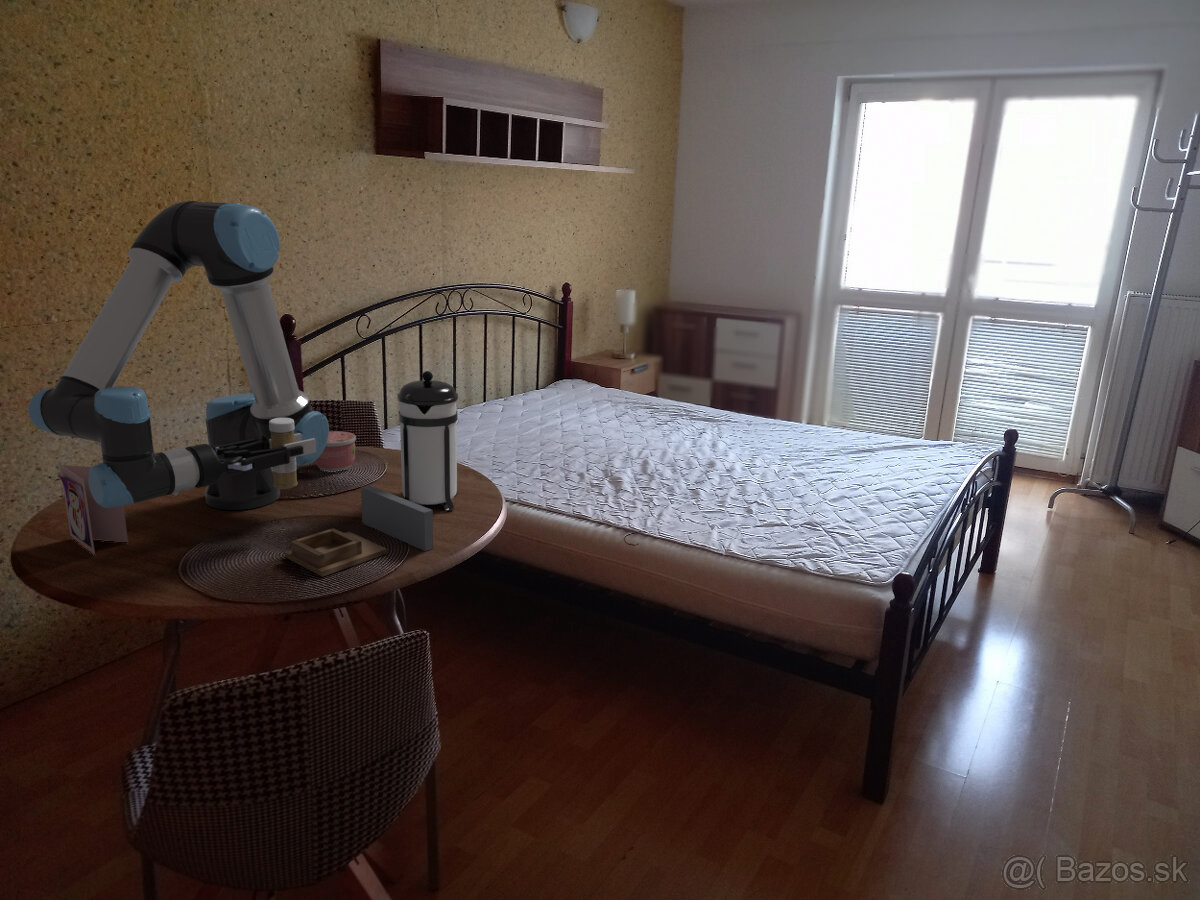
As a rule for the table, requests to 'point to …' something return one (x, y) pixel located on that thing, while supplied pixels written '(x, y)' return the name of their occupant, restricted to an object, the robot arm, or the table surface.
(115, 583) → the table surface
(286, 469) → the sprinkles bottle
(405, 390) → the coffee press
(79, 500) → the greeting card
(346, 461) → the container
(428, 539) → the backstop wall
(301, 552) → the socket block
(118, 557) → the table surface
